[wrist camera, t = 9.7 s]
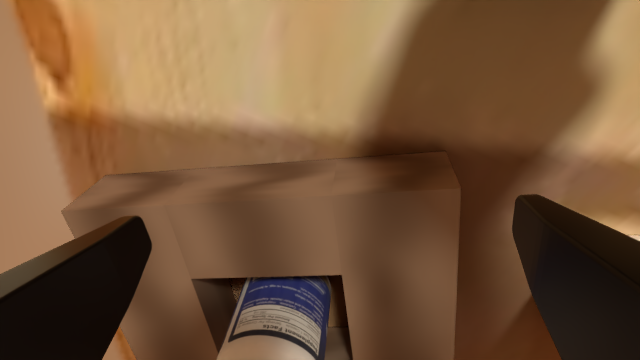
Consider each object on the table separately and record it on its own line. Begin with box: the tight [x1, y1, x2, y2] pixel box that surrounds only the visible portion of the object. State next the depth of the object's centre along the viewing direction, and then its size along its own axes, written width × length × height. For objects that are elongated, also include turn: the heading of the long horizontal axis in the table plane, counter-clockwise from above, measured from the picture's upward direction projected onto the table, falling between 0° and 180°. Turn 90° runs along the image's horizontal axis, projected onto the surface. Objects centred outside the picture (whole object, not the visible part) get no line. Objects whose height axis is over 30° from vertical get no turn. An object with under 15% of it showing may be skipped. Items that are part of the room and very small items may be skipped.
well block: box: [61, 151, 461, 360], centre depth 25 cm, size 20×18×4 cm
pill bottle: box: [216, 275, 331, 360], centre depth 22 cm, size 6×6×10 cm
